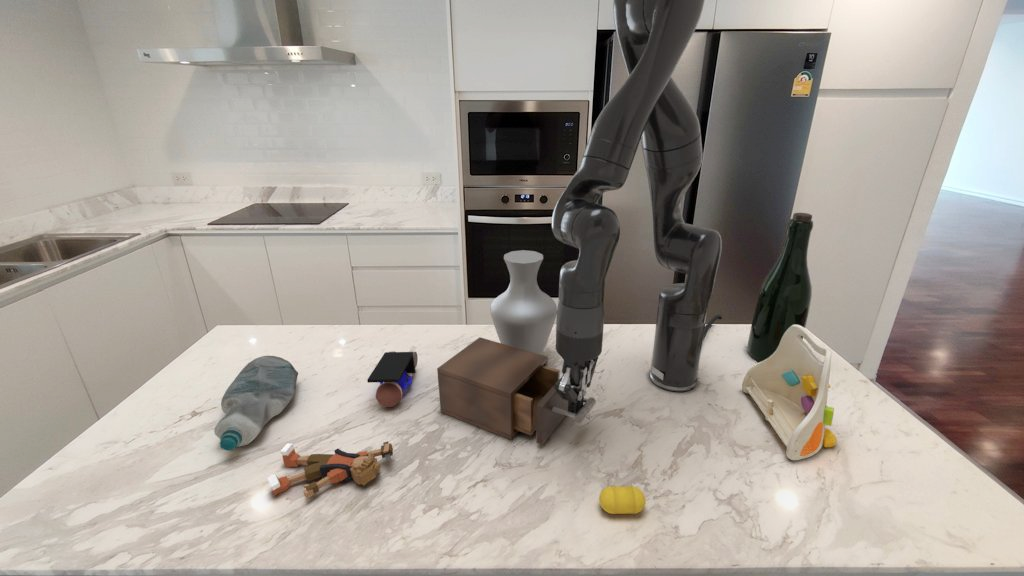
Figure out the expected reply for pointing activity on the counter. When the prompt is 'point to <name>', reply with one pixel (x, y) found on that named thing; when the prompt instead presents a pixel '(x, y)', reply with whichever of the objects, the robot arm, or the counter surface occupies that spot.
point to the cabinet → (486, 384)
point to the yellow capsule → (622, 500)
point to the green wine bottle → (783, 292)
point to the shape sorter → (795, 393)
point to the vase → (524, 305)
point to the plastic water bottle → (255, 399)
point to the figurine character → (393, 376)
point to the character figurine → (330, 468)
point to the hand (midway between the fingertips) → (575, 413)
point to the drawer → (543, 405)
